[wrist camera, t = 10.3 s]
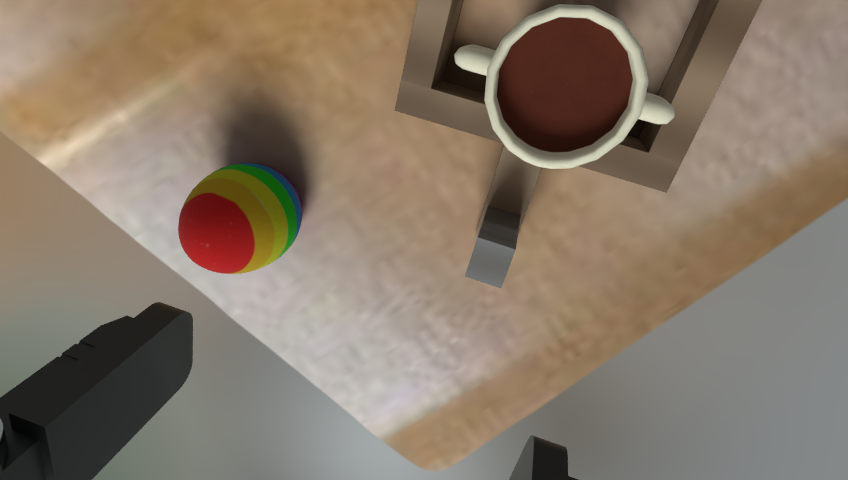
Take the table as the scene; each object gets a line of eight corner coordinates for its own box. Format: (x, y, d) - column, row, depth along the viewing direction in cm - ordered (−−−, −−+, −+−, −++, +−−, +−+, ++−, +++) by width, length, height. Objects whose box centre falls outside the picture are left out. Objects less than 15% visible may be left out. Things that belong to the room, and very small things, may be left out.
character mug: (467, 95, 36) (426, 134, 24) (496, -14, 33) (466, -29, 21) (618, 139, 35) (650, 201, 23) (663, 30, 32) (728, 40, 20)
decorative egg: (326, 238, 43) (268, 296, 35) (245, 249, 46) (172, 305, 37) (297, 145, 41) (226, 183, 32) (212, 162, 43) (124, 200, 34)
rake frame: (475, -189, 29) (454, -244, 23) (792, -115, 27) (863, -153, 21) (386, 205, 41) (356, 240, 34) (606, 276, 39) (616, 326, 33)
